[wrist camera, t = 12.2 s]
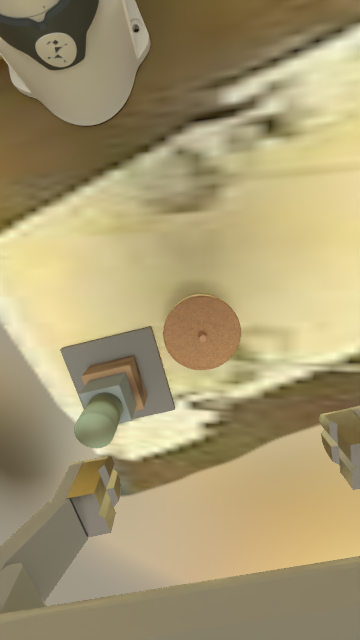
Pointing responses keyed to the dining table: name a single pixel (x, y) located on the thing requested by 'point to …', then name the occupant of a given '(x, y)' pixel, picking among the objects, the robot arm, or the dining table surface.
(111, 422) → the olive green cylinder
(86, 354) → the mat
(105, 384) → the tower top
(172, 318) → the lidded jar
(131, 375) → the block
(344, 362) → the dining table surface
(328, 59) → the dining table surface
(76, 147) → the dining table surface
